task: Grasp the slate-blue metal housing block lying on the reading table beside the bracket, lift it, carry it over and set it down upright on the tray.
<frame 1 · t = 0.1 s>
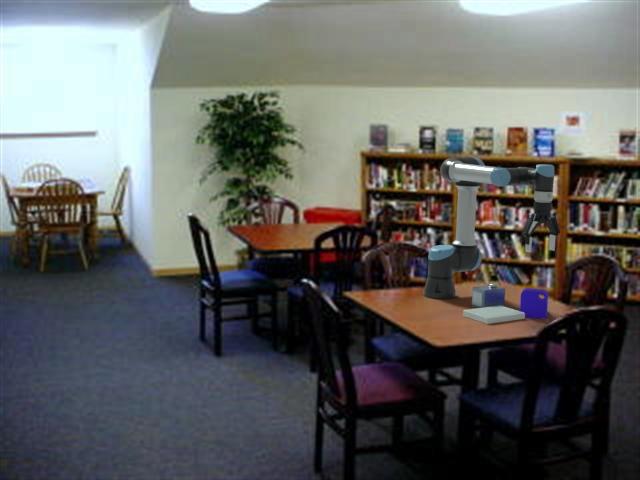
hand: (539, 251, 361), 28 cm above the table, fingers open, 13 cm apart
housing: (487, 307, 379), on the table
bracket: (535, 314, 370), on the table
tray: (493, 317, 360), on the table
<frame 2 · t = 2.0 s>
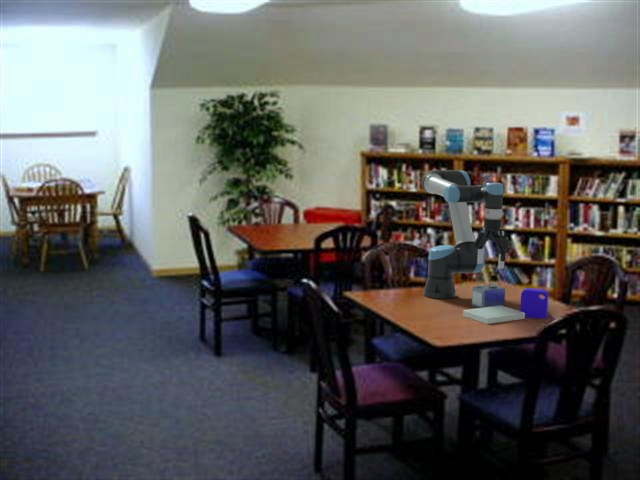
hand: (490, 266, 376), 19 cm above the table, fingers open, 13 cm apart
nothing on the table moved.
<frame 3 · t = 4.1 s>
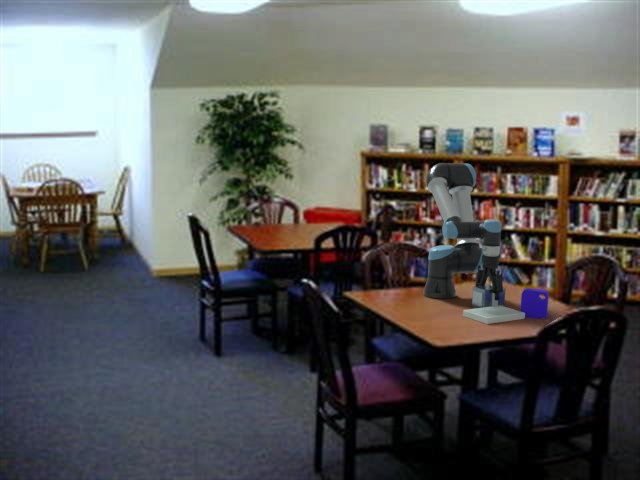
hand: (488, 305, 379), 1 cm above the table, fingers closed on housing, 8 cm apart
housing: (488, 306, 379), on the table, touching gripper
everything else where it was.
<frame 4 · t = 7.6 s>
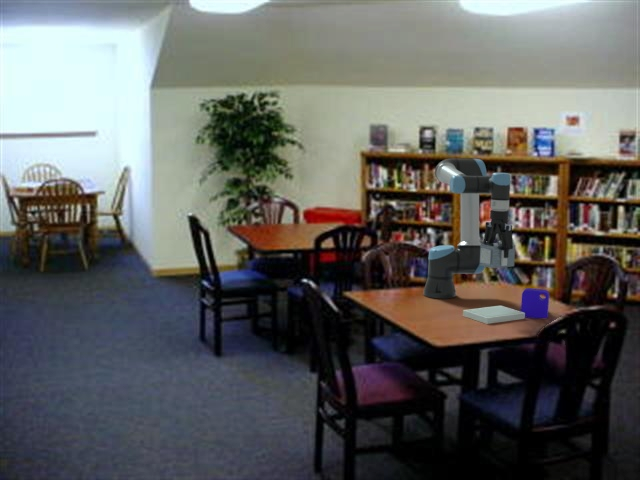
hand: (496, 263, 358), 23 cm above the table, fingers closed on housing, 8 cm apart
housing: (496, 265, 358), point 22 cm above the table, touching gripper
everything else where it was.
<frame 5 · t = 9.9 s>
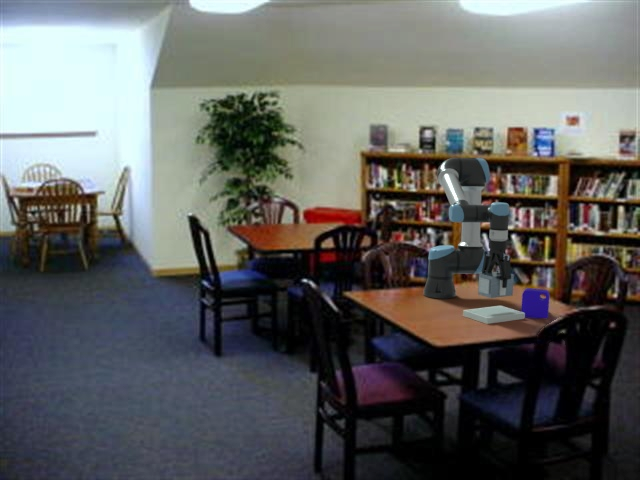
hand: (495, 293, 358), 10 cm above the table, fingers closed on housing, 8 cm apart
housing: (495, 294, 359), point 10 cm above the table, touching gripper
everything else where it was.
when the fingers open (5 cm above the table, at t = 11.5 s): housing drops 1 cm, resting on tray.
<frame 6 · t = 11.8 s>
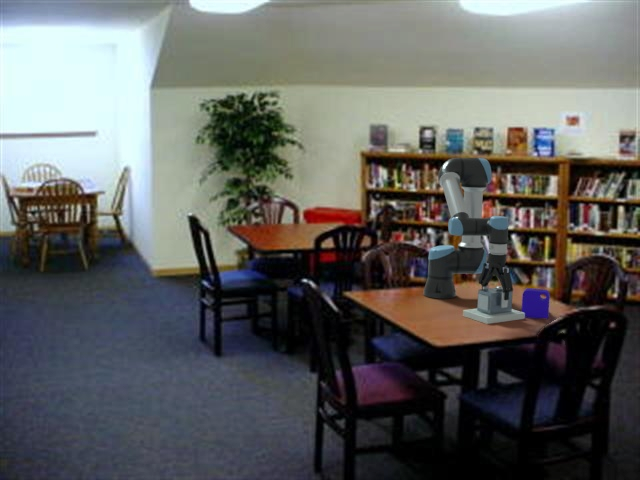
hand: (494, 304, 359), 6 cm above the table, fingers open, 11 cm apart
housing: (494, 311, 360), point 3 cm above the table, touching tray
everything else where it was.
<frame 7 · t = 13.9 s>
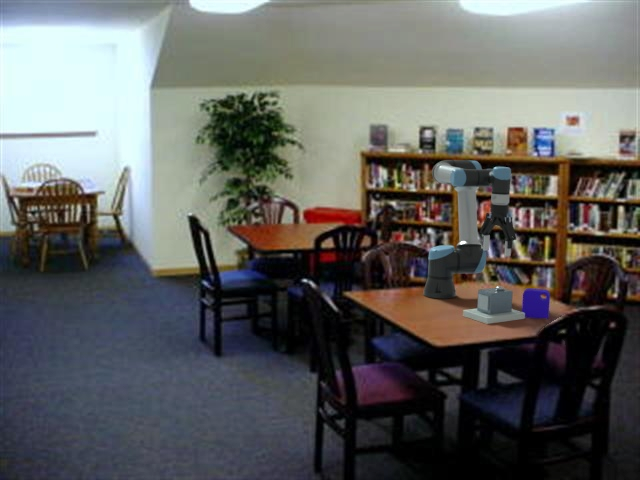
hand: (496, 253, 363), 26 cm above the table, fingers open, 13 cm apart
nothing on the table moved.
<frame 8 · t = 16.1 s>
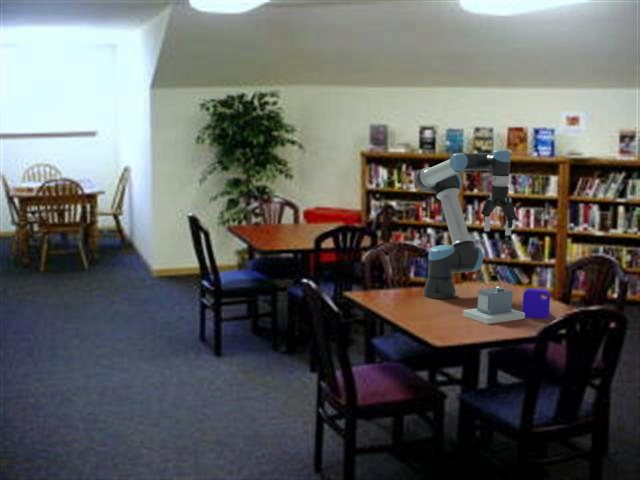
hand: (497, 233, 379), 33 cm above the table, fingers open, 13 cm apart
nothing on the table moved.
at the end: housing inside the target area on the tray (0.1 cm from its centre), point 2.6 cm above the tray's base; housing tilted 0°; the gripper is holding nothing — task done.
